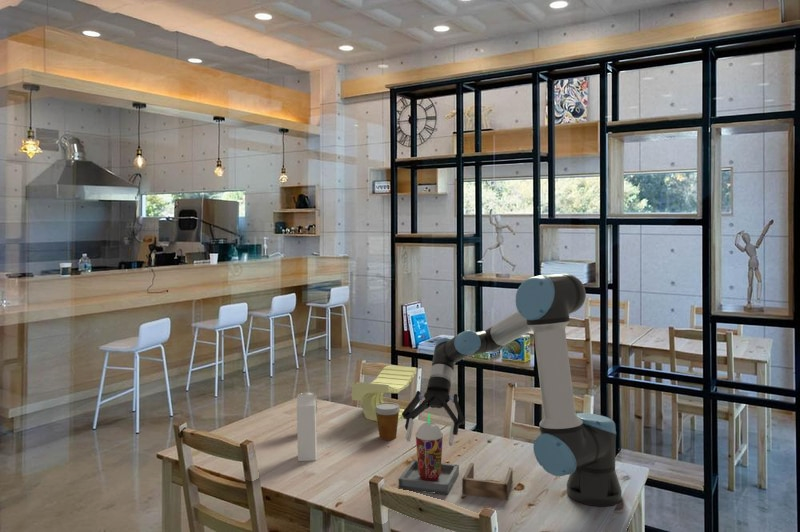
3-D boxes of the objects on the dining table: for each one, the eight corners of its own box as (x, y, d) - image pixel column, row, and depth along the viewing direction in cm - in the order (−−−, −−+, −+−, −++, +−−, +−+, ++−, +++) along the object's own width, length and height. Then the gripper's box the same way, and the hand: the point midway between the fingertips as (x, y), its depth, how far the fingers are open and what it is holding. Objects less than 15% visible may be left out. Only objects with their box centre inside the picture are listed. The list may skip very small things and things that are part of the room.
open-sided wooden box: (512, 482, 175) (512, 467, 175) (507, 499, 164) (507, 484, 164) (470, 477, 179) (470, 462, 179) (462, 493, 168) (462, 478, 168)
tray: (458, 474, 182) (458, 464, 181) (447, 495, 167) (447, 485, 167) (413, 468, 186) (413, 459, 186) (398, 488, 172) (398, 478, 172)
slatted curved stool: (383, 404, 256) (382, 364, 255) (416, 407, 250) (415, 367, 249) (352, 425, 229) (351, 381, 228) (389, 430, 223) (388, 384, 222)
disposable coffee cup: (405, 438, 214) (405, 406, 213) (383, 443, 208) (383, 411, 208) (391, 431, 222) (390, 400, 221) (370, 436, 216) (369, 405, 215)
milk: (315, 460, 194) (314, 396, 192) (297, 461, 193) (296, 397, 192) (316, 453, 200) (315, 391, 198) (299, 454, 199) (297, 392, 198)
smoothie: (441, 484, 172) (440, 419, 171) (413, 482, 174) (413, 417, 172) (444, 473, 180) (444, 410, 179) (418, 471, 182) (417, 409, 180)
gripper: (478, 389, 189) (470, 451, 175) (406, 384, 196) (393, 442, 183) (476, 377, 183) (467, 440, 170) (401, 372, 191) (387, 432, 178)
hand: (428, 441), depth 176 cm, fingers open, 13 cm apart
